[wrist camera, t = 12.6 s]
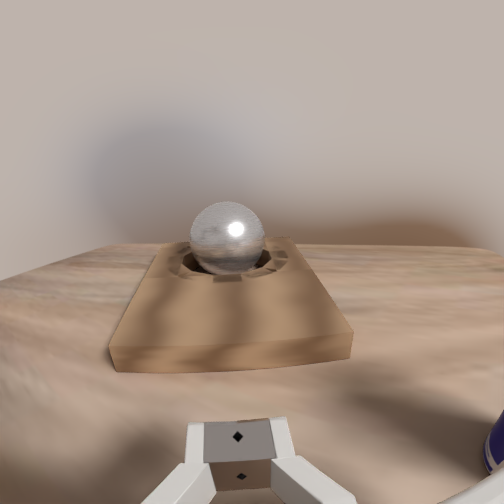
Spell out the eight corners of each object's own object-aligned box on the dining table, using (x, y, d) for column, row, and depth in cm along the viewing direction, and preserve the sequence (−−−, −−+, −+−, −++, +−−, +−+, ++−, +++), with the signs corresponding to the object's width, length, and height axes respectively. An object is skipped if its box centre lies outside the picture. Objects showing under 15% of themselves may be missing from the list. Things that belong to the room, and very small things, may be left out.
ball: (190, 206, 42) (197, 272, 43) (180, 204, 33) (189, 287, 34) (257, 200, 43) (263, 266, 44) (265, 196, 34) (272, 279, 35)
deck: (116, 371, 22) (108, 345, 21) (165, 260, 45) (163, 243, 44) (349, 358, 23) (353, 331, 22) (288, 253, 47) (289, 236, 46)
